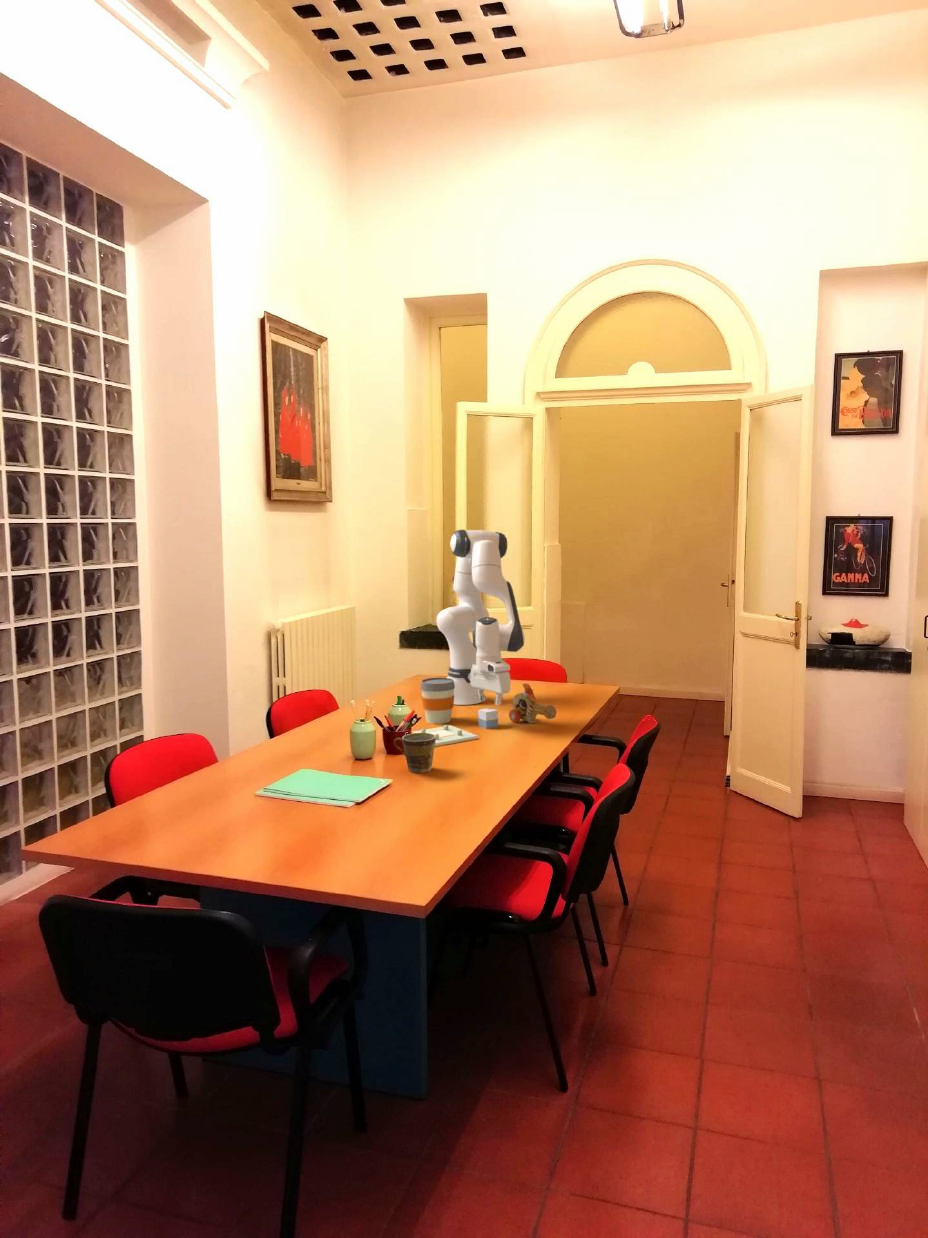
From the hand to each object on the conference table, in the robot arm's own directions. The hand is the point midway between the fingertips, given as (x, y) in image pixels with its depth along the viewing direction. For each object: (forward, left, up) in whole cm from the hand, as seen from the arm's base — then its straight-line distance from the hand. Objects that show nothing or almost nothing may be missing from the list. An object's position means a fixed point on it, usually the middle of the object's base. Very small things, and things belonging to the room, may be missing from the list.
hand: (490, 702), depth 309 cm
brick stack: (-1, -1, -9) cm, 9 cm away
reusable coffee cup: (-19, -11, -9) cm, 23 cm away
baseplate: (+2, -22, -9) cm, 23 cm away
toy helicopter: (+5, +14, -9) cm, 18 cm away
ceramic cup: (+30, -47, -9) cm, 56 cm away
